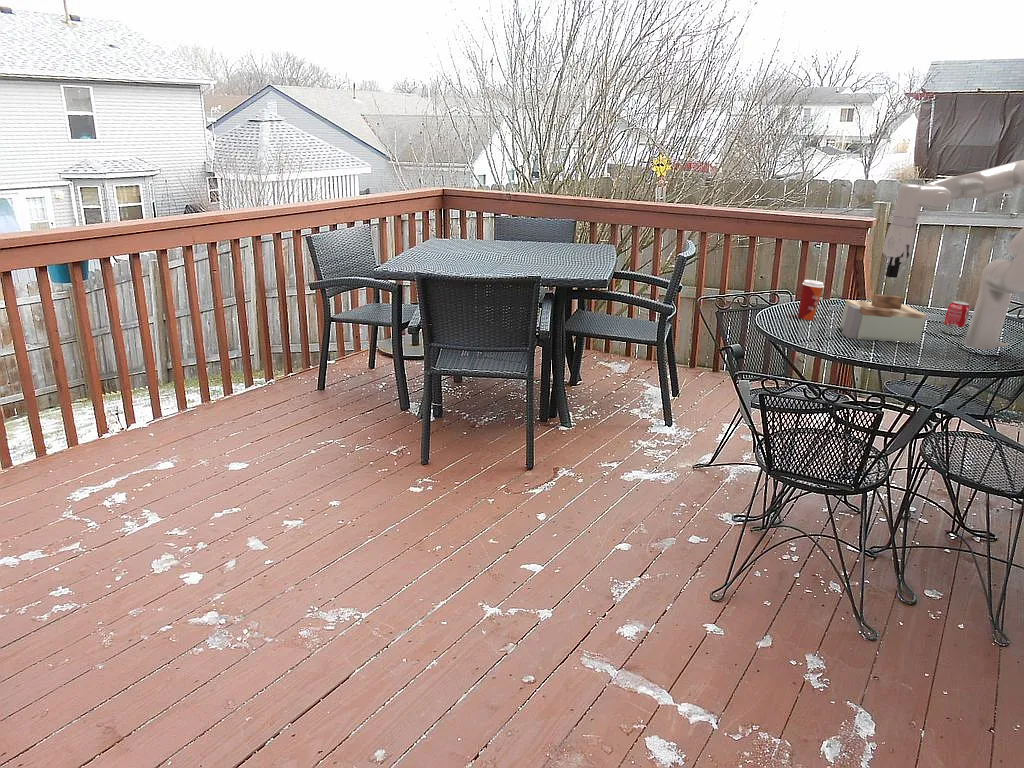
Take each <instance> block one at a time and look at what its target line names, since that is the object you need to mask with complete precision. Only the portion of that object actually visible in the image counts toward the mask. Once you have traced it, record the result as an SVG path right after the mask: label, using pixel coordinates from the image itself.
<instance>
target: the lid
mask: <svg viewBox="0 0 1024 768" xmlns="http://www.w3.org/2000/svg"><path fill="white" fill-rule="evenodd" d="M903 301H904V297H902V296H900V295H889V294H881V293H880V294H878V293H877V294H876V293H874V294H873V297H872V301H865V300H853V299H852V300H851V299H850V300H849V299H845V304H846V305H848V306H849V305H856V306H859V307H861V306H862V307H874V308H886V309H889V310H891V311H893V313H892V316H895V317H907V318H918V319H925V320H926V319H927V314H926V313H924V312H921V311H919V310H917V309H915V308H913V307H911V306H909V305H906V304H903Z"/></svg>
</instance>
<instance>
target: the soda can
mask: <svg viewBox="0 0 1024 768" xmlns="http://www.w3.org/2000/svg"><path fill="white" fill-rule="evenodd" d="M970 310H971V309H970V303H968V302H966V301H965V302H964V301H962V300H952V301H951V303H950V304H949V305H948V308H947V310H946V314H945V317H944V320H943V323H944V324H945V325H947V326H951V327H965V328H966V325H967V321H968V318H969V314H970Z"/></svg>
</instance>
